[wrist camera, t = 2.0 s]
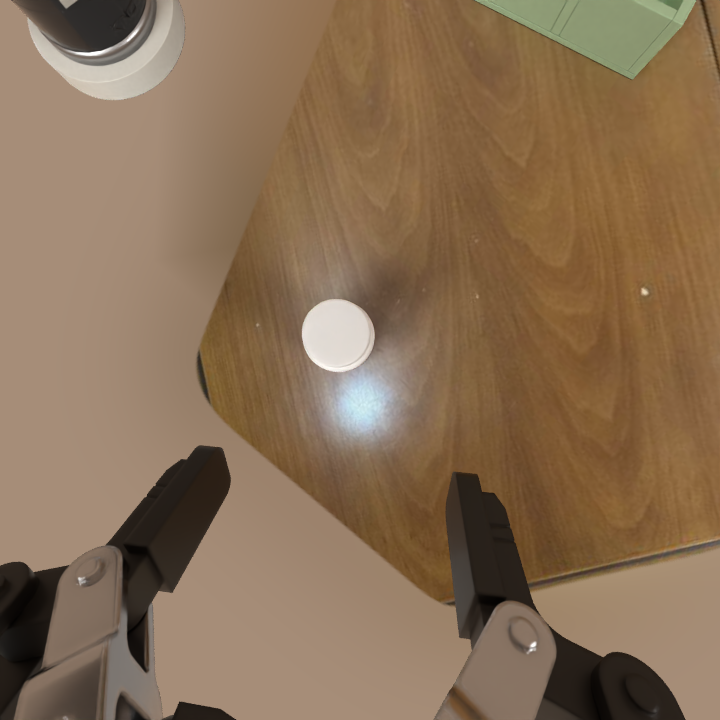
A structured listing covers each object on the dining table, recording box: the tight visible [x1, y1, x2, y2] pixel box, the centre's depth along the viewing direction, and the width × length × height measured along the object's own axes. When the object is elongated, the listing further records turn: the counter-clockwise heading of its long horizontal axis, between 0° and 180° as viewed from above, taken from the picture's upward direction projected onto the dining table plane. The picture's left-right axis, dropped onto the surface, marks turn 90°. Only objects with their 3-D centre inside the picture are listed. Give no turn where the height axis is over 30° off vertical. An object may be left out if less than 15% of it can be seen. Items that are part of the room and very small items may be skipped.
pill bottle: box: [302, 299, 375, 372], centre depth 23 cm, size 5×5×8 cm
